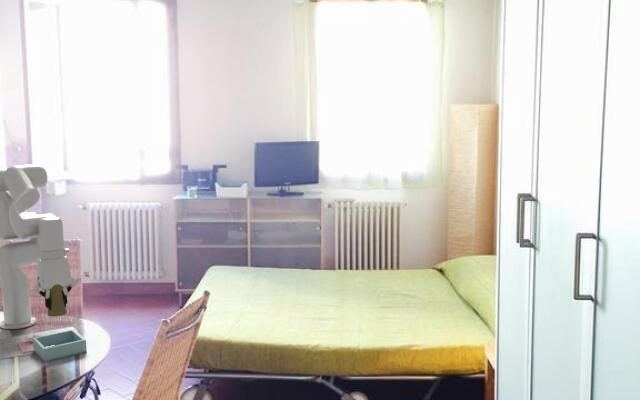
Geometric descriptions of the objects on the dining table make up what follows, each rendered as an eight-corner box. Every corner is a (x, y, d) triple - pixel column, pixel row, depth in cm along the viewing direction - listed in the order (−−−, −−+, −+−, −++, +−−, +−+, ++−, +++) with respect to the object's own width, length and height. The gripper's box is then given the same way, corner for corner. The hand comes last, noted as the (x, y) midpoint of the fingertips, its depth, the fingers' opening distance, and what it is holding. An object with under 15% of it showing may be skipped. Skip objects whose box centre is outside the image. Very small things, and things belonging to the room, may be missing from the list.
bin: (33, 350, 228) (32, 337, 227) (74, 341, 236) (73, 329, 236) (44, 362, 217) (43, 349, 217) (86, 352, 225) (85, 339, 225)
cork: (60, 316, 221) (57, 284, 220) (43, 316, 222) (41, 283, 221) (70, 311, 227) (68, 279, 226) (54, 310, 228) (51, 279, 227)
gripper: (74, 248, 230) (78, 300, 232) (23, 256, 220) (27, 310, 222) (81, 252, 224) (85, 305, 226) (28, 260, 214) (33, 315, 217)
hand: (56, 307), depth 224 cm, fingers closed on cork, 4 cm apart
